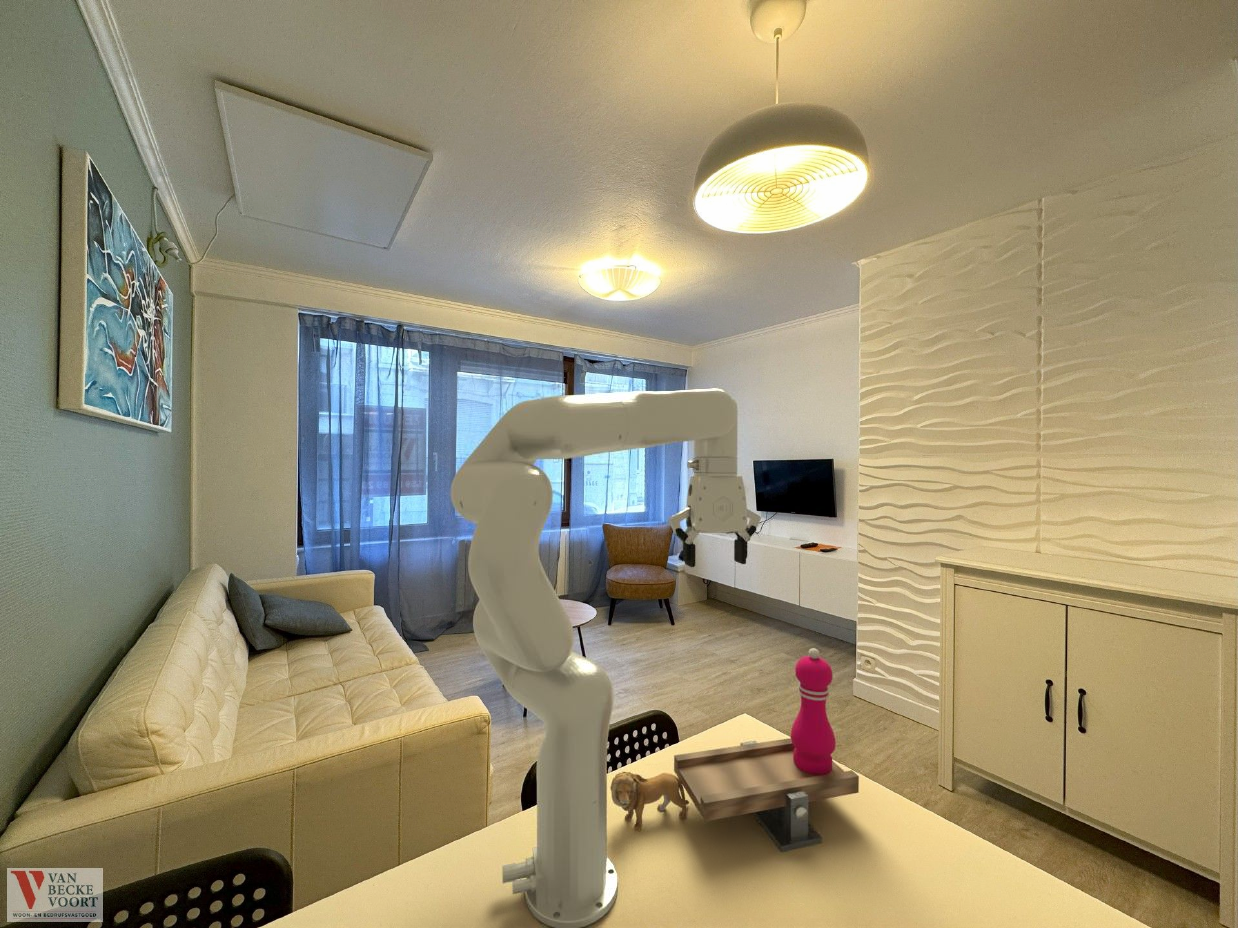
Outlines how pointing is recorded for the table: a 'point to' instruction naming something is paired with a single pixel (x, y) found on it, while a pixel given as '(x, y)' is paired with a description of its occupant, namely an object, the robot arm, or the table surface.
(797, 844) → the beam stand
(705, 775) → the balance beam
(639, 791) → the lion figurine
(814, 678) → the pepper mill
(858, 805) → the table surface
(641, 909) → the table surface
